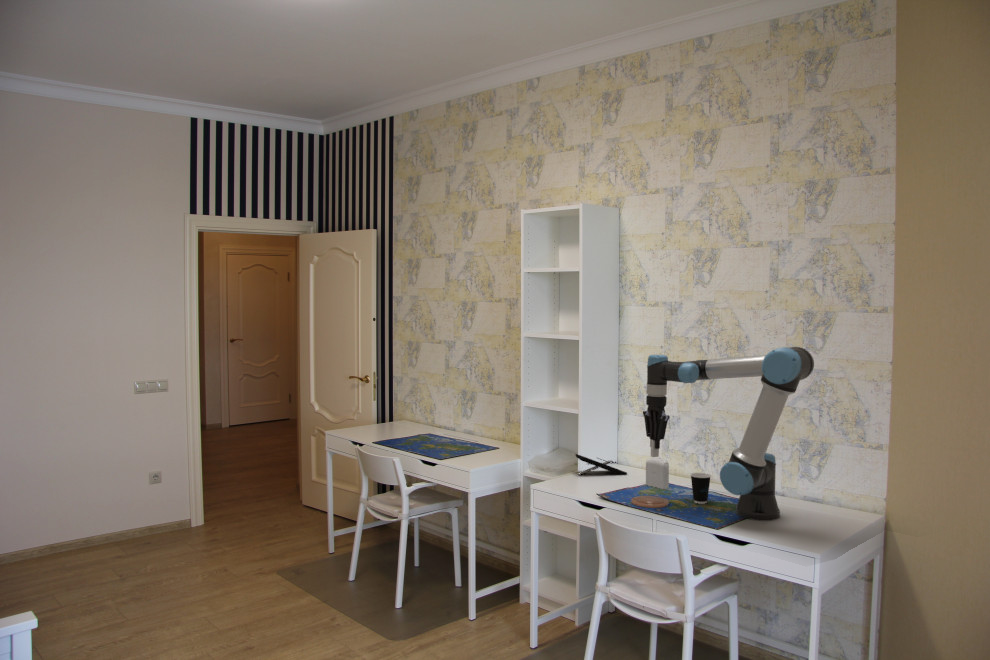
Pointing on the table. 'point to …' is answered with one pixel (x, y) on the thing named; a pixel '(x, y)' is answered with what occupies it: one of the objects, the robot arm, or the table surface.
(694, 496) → the dixie cup
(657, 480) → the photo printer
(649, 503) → the dish
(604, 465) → the black folding stand
